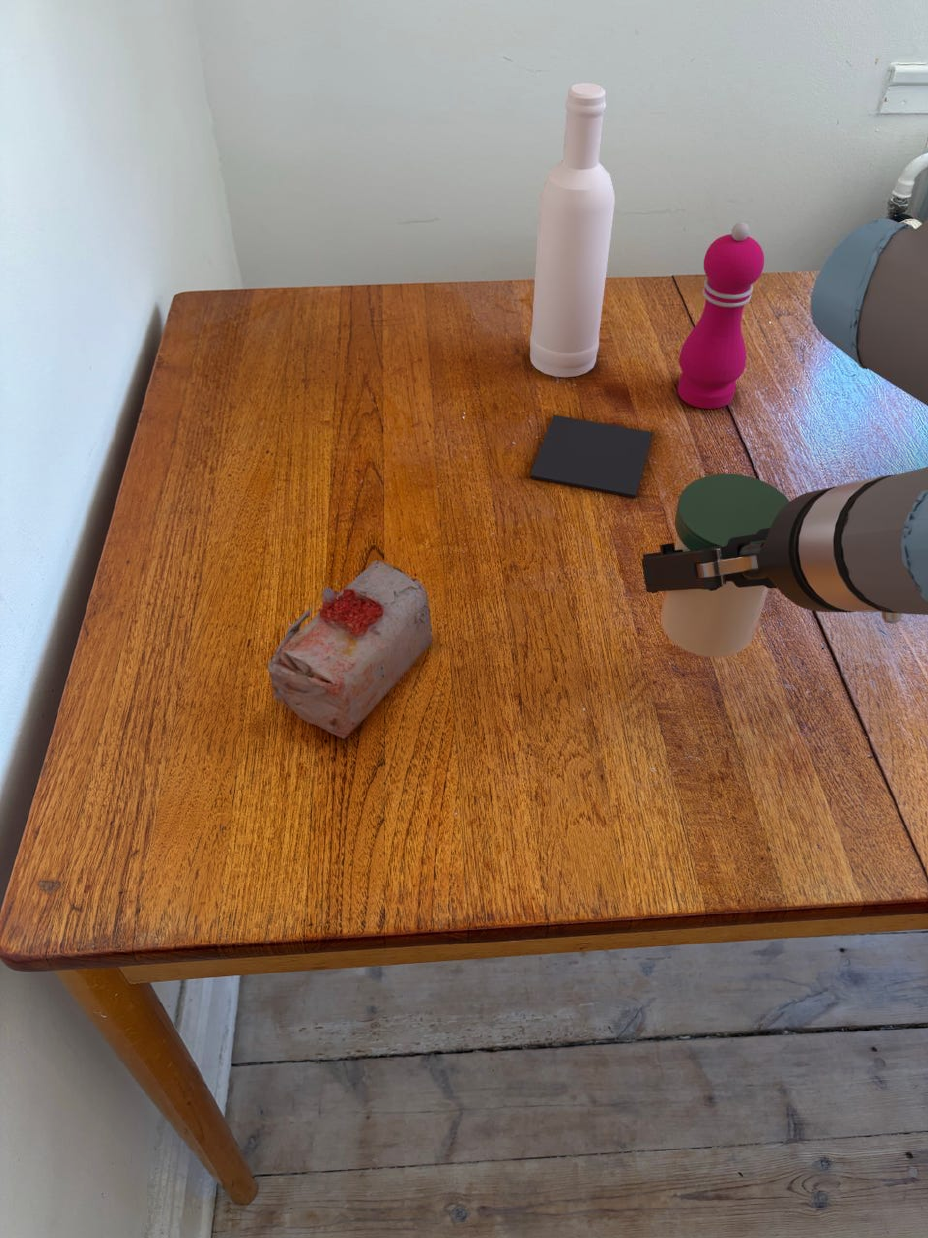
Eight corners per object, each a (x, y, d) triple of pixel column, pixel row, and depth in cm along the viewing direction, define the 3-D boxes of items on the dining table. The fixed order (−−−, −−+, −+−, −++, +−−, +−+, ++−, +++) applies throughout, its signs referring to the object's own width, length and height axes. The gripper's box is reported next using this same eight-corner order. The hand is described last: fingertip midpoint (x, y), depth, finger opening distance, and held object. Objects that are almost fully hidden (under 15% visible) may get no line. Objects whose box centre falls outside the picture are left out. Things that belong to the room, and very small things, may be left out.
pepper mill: (679, 412, 112) (713, 240, 97) (668, 375, 117) (699, 206, 102) (743, 411, 112) (787, 239, 98) (729, 375, 117) (769, 206, 103)
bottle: (515, 358, 119) (528, 86, 97) (561, 334, 123) (584, 67, 101) (563, 386, 115) (589, 111, 93) (610, 361, 119) (645, 90, 97)
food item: (346, 757, 80) (335, 677, 73) (269, 713, 83) (251, 632, 76) (441, 649, 88) (440, 567, 81) (368, 612, 91) (360, 530, 84)
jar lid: (794, 503, 76) (800, 484, 75) (786, 578, 71) (793, 559, 69) (682, 483, 78) (686, 464, 76) (666, 555, 72) (670, 536, 71)
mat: (652, 435, 109) (653, 432, 109) (635, 498, 102) (635, 495, 102) (553, 417, 111) (553, 414, 111) (529, 478, 104) (529, 474, 104)
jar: (759, 599, 84) (792, 492, 75) (750, 666, 79) (784, 560, 70) (667, 581, 85) (689, 473, 77) (653, 646, 80) (675, 539, 72)
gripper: (699, 642, 57) (584, 630, 80) (1017, 582, 61) (821, 586, 83) (678, 512, 57) (569, 536, 80) (999, 458, 60) (807, 496, 83)
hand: (698, 561), depth 81 cm, fingers closed on jar, 8 cm apart
